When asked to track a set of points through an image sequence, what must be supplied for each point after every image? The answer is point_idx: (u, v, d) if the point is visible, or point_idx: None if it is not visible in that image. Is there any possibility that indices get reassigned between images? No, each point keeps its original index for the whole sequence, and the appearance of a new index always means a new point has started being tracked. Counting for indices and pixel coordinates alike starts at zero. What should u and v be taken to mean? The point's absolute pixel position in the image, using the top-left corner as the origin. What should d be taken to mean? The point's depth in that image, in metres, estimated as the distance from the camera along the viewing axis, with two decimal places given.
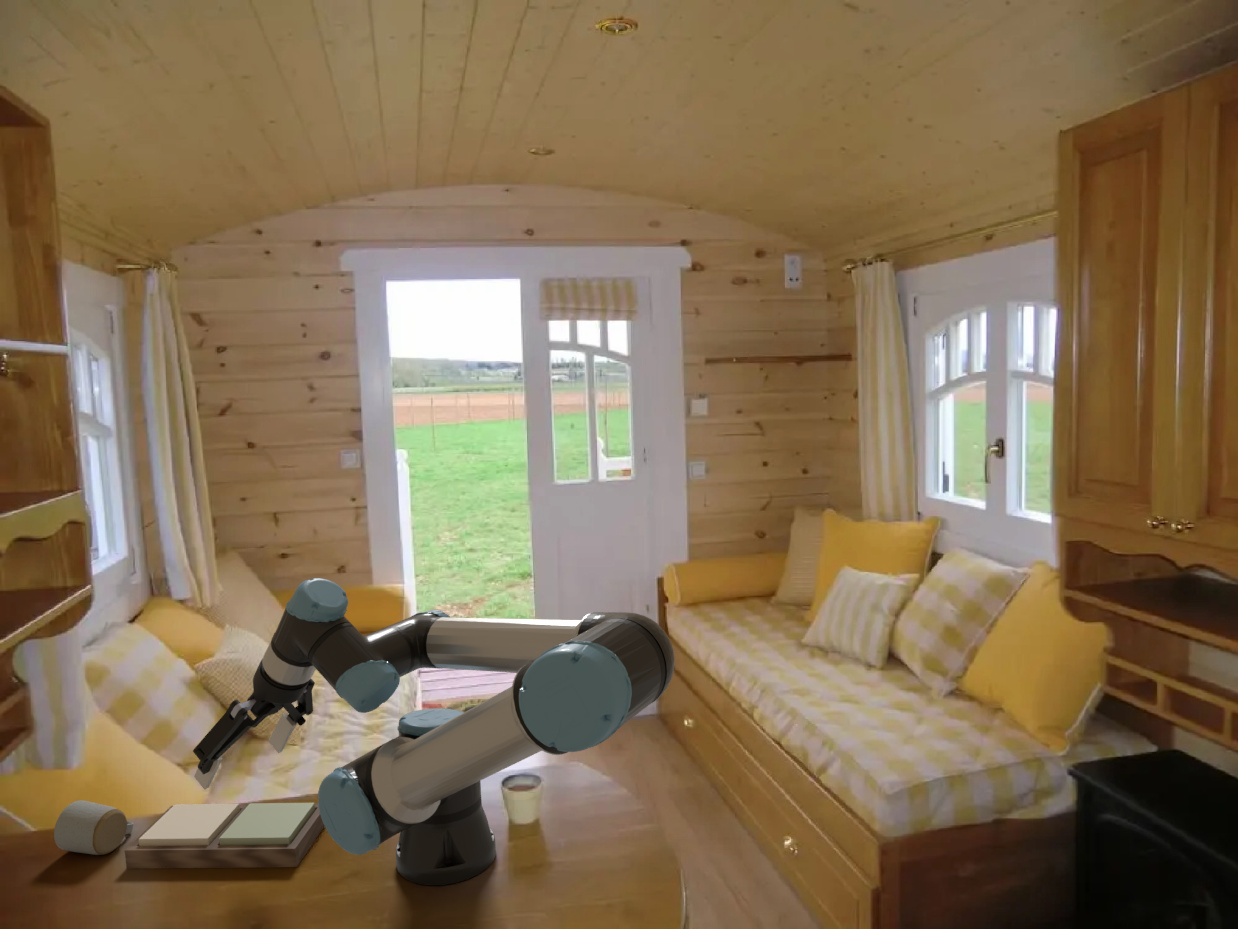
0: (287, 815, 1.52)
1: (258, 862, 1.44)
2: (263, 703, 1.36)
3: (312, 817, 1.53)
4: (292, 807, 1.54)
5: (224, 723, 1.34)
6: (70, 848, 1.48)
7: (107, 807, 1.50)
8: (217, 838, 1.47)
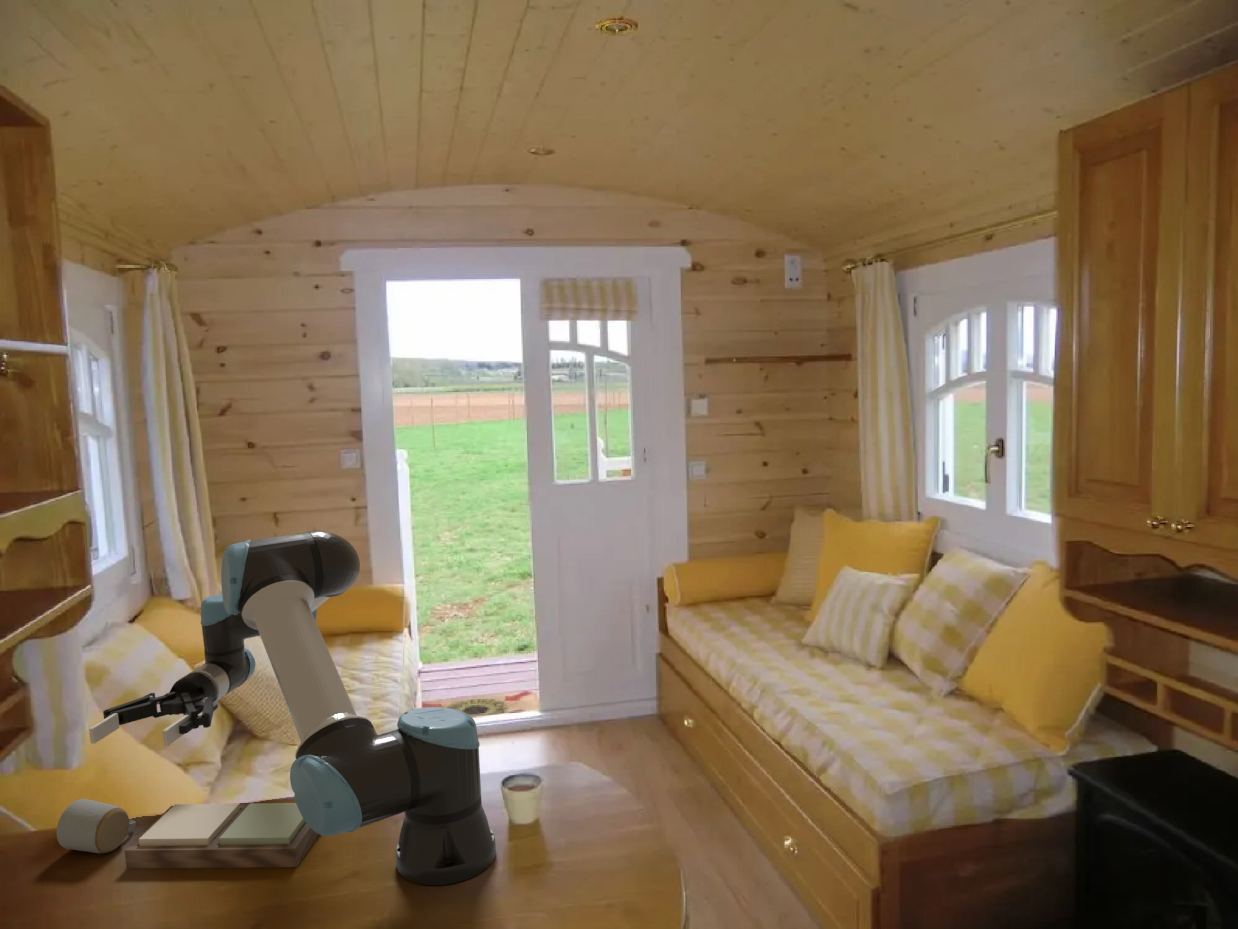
0: (287, 815, 1.52)
1: (258, 862, 1.44)
2: None
3: None
4: (292, 807, 1.54)
5: None
6: (72, 846, 1.49)
7: (109, 806, 1.51)
8: (217, 838, 1.47)
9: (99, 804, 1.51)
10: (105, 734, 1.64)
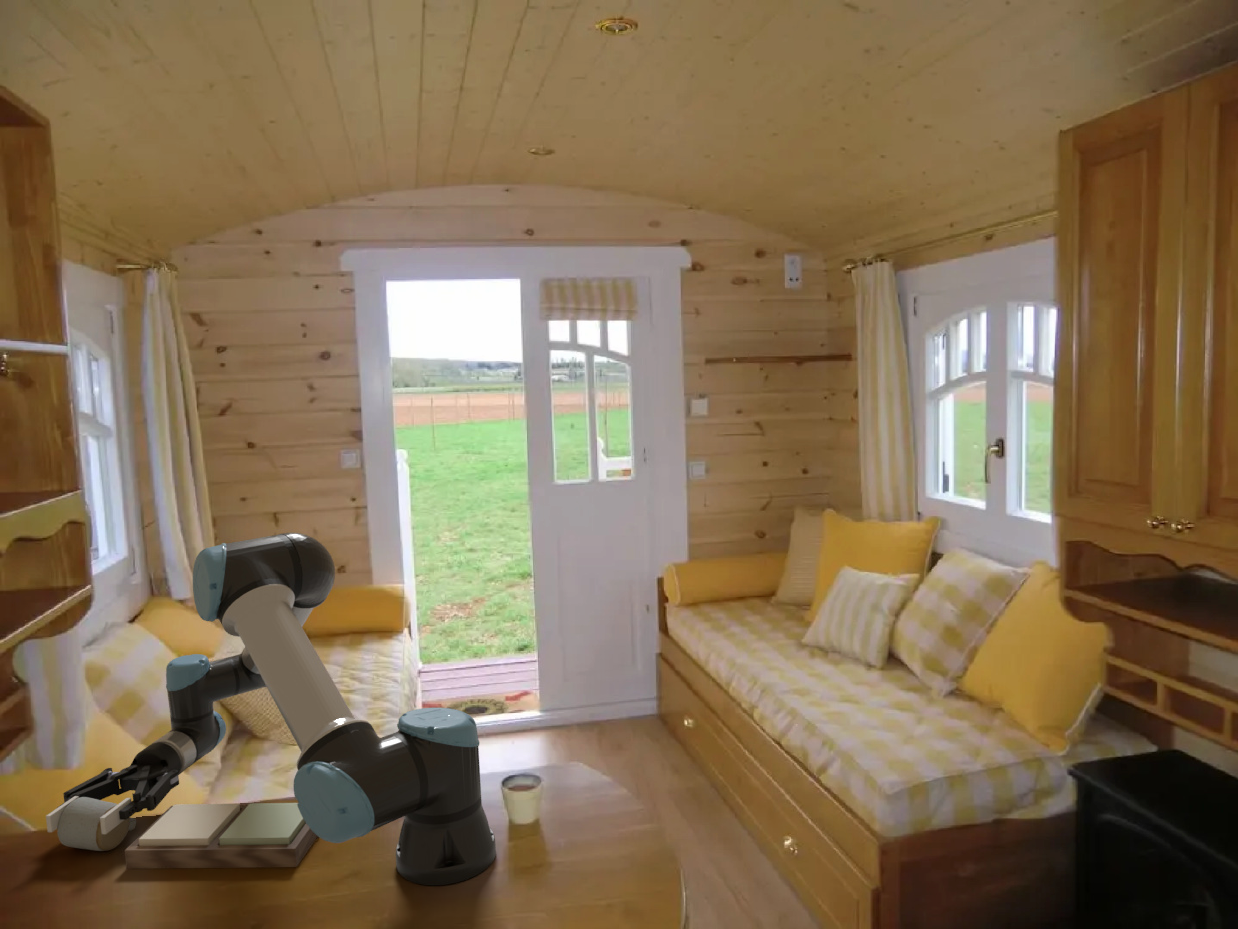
0: (287, 815, 1.52)
1: (258, 862, 1.44)
2: None
3: None
4: (292, 807, 1.54)
5: None
6: (73, 844, 1.49)
7: (110, 803, 1.51)
8: (217, 838, 1.47)
9: (100, 802, 1.52)
10: None
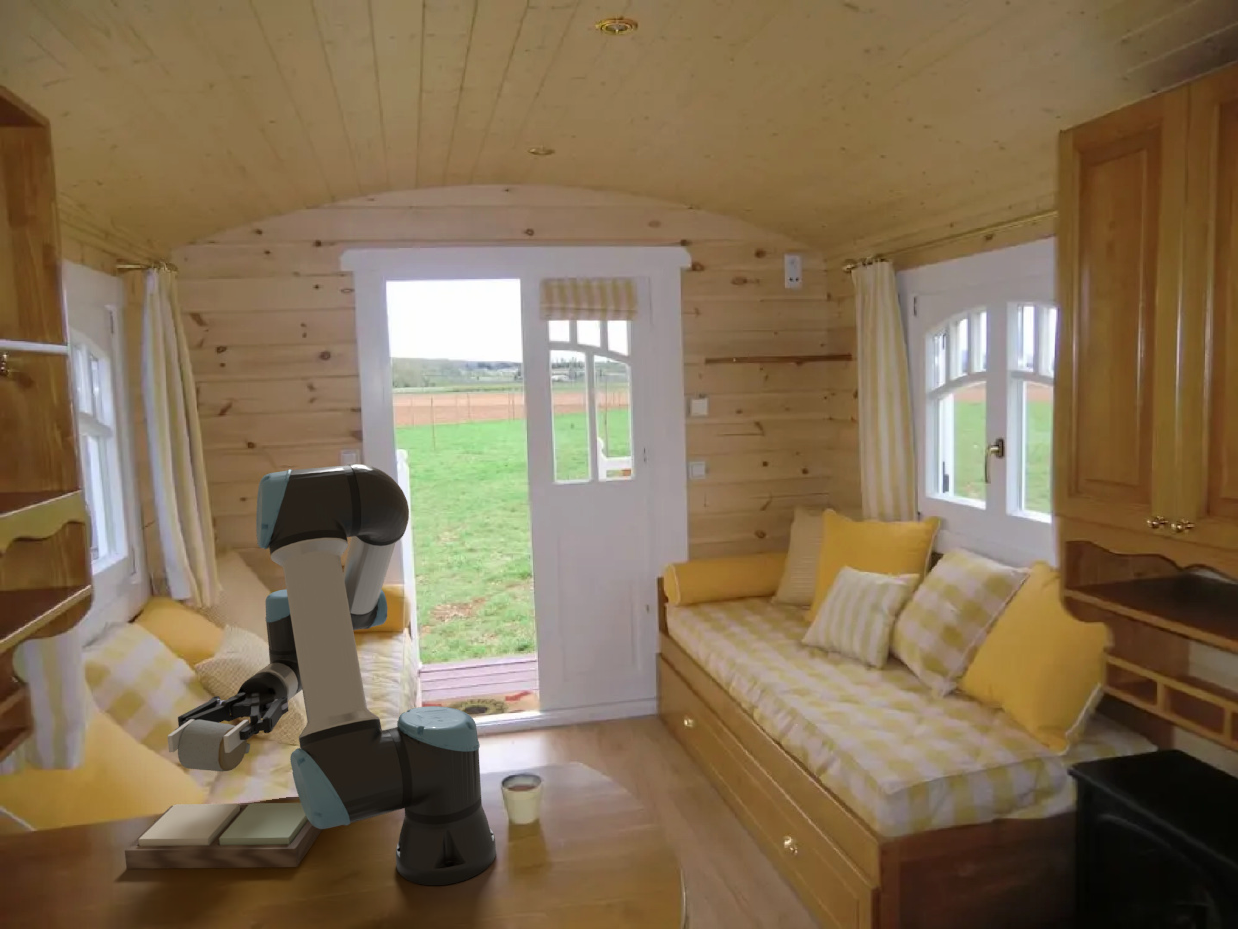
0: (287, 815, 1.52)
1: (258, 862, 1.44)
2: None
3: None
4: (292, 807, 1.54)
5: None
6: (194, 765, 1.49)
7: (229, 725, 1.51)
8: (217, 838, 1.47)
9: (218, 723, 1.51)
10: None
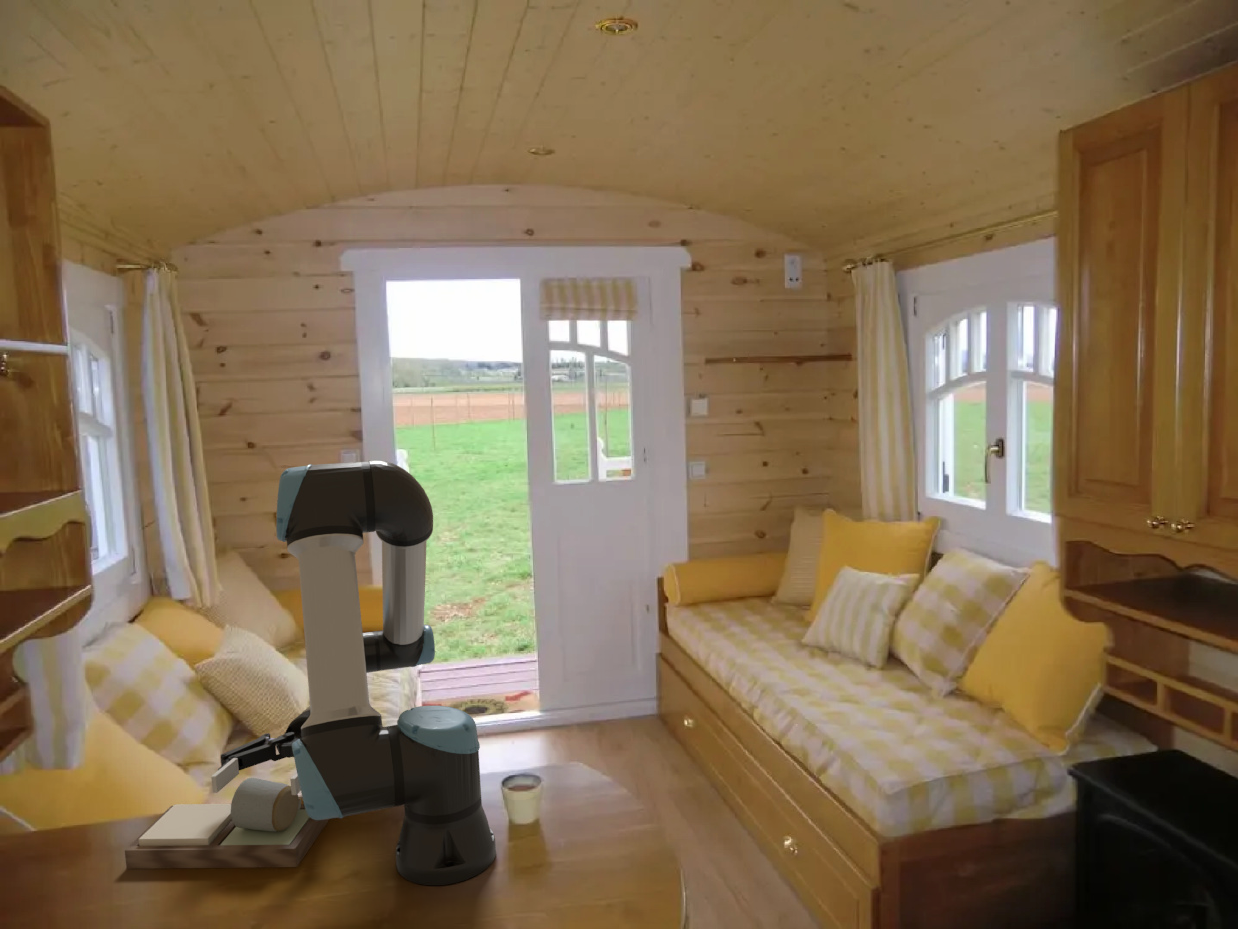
0: None
1: (258, 862, 1.44)
2: None
3: None
4: None
5: None
6: (247, 825, 1.47)
7: (281, 784, 1.50)
8: (217, 838, 1.47)
9: (270, 782, 1.50)
10: (226, 782, 1.50)
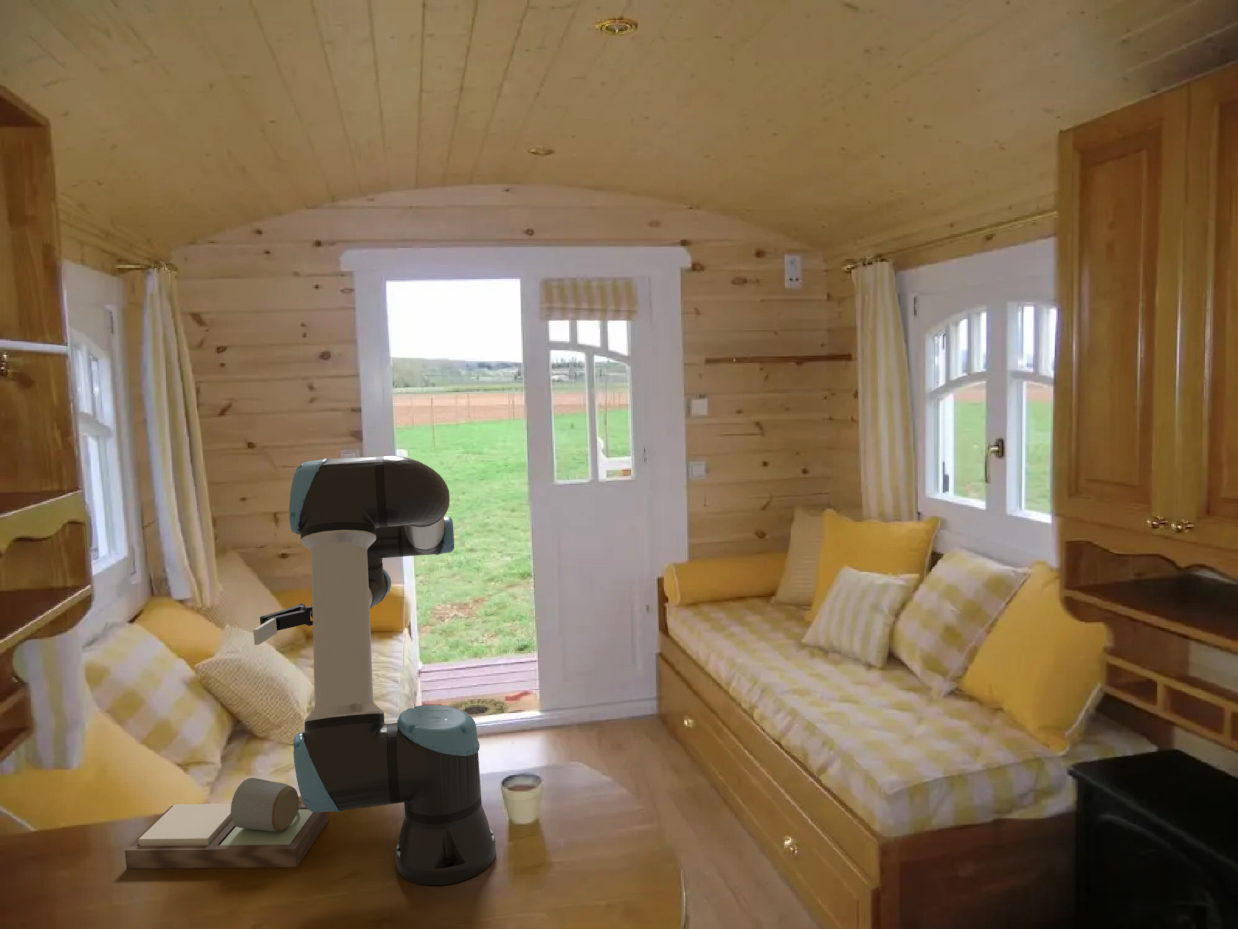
0: None
1: (258, 862, 1.44)
2: None
3: (312, 817, 1.53)
4: None
5: None
6: (247, 825, 1.47)
7: (281, 784, 1.50)
8: (217, 838, 1.47)
9: (270, 782, 1.50)
10: (266, 637, 1.64)
